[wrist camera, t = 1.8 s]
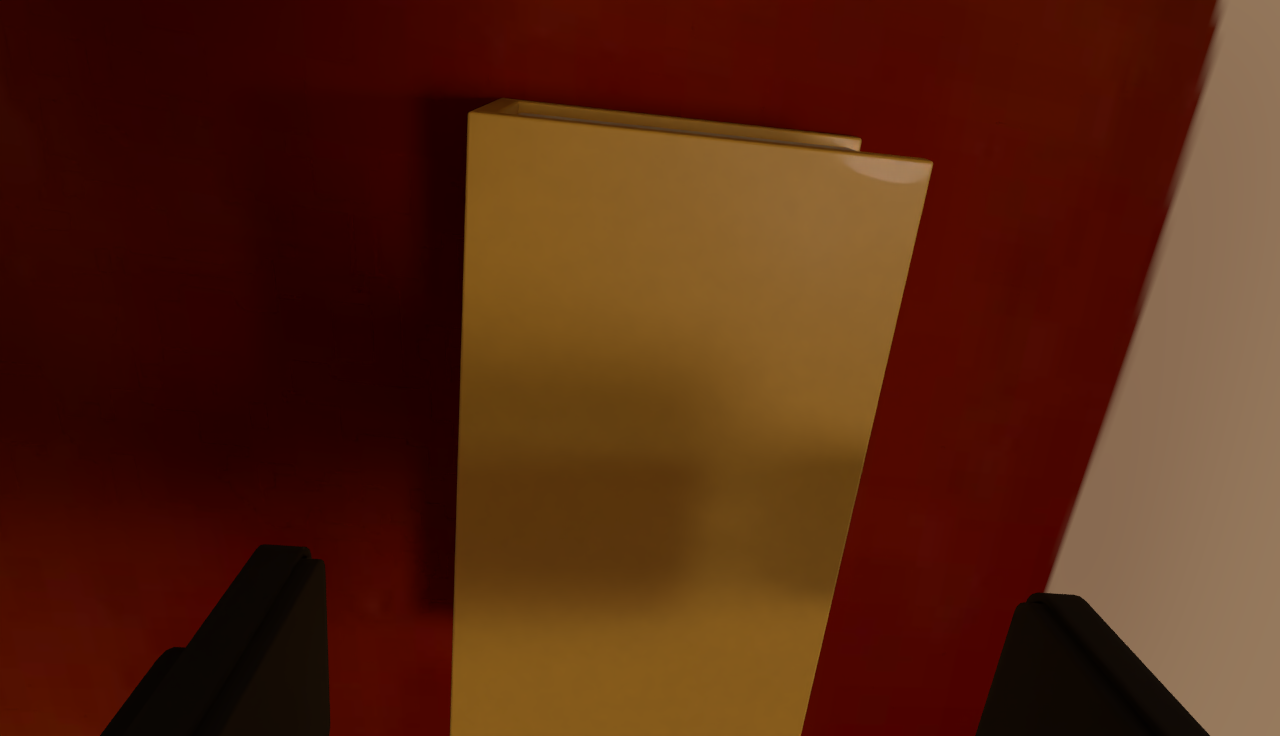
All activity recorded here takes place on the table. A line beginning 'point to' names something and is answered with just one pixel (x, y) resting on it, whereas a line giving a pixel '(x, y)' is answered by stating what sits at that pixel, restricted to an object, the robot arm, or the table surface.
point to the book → (662, 413)
